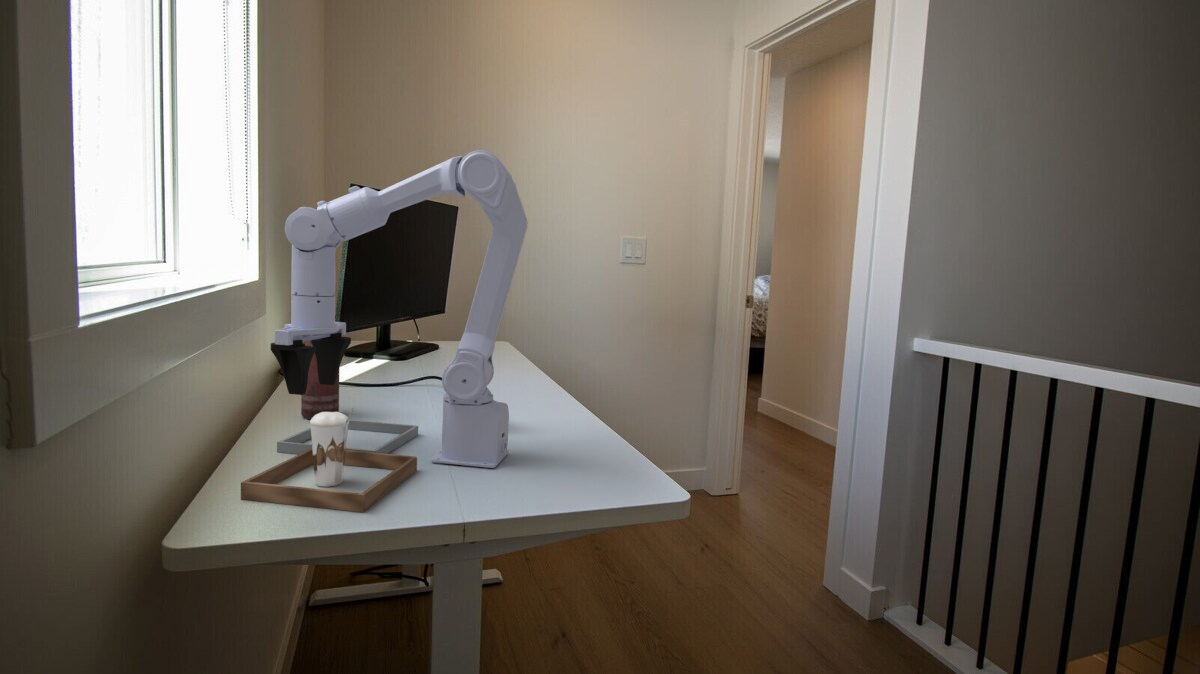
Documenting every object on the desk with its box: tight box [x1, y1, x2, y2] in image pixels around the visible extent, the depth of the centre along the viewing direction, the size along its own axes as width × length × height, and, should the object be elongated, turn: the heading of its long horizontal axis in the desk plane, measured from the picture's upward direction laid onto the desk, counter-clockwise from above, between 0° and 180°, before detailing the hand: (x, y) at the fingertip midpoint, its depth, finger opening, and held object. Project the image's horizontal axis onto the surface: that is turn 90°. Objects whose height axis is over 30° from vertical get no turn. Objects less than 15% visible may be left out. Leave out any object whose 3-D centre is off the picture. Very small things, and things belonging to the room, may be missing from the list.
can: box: [300, 340, 340, 421], centre depth 109 cm, size 6×6×14 cm
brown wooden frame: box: [240, 448, 418, 513], centre depth 78 cm, size 15×15×2 cm
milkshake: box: [309, 407, 355, 488], centre depth 78 cm, size 4×5×10 cm
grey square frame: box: [276, 419, 419, 455], centre depth 96 cm, size 15×15×2 cm
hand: (312, 389), depth 89 cm, fingers open, 7 cm apart
